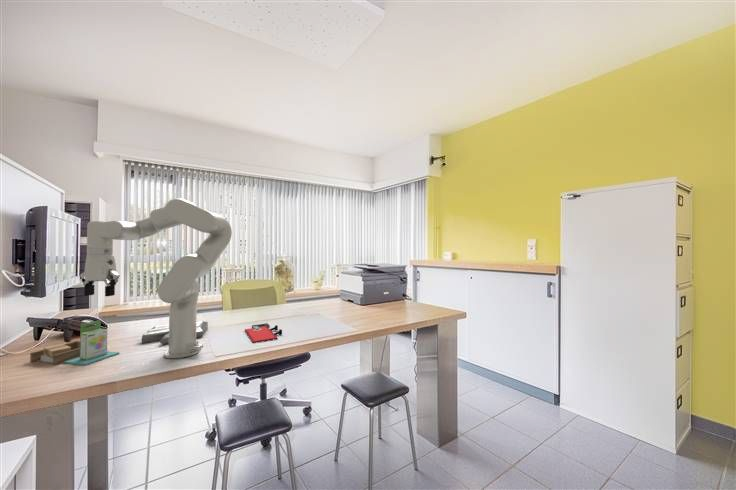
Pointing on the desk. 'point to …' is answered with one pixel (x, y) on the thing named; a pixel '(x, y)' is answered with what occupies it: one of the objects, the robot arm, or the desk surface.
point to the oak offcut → (55, 350)
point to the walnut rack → (59, 357)
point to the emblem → (163, 333)
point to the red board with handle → (262, 333)
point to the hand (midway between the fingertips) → (99, 295)
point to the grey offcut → (46, 358)
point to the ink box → (92, 341)
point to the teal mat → (87, 362)
